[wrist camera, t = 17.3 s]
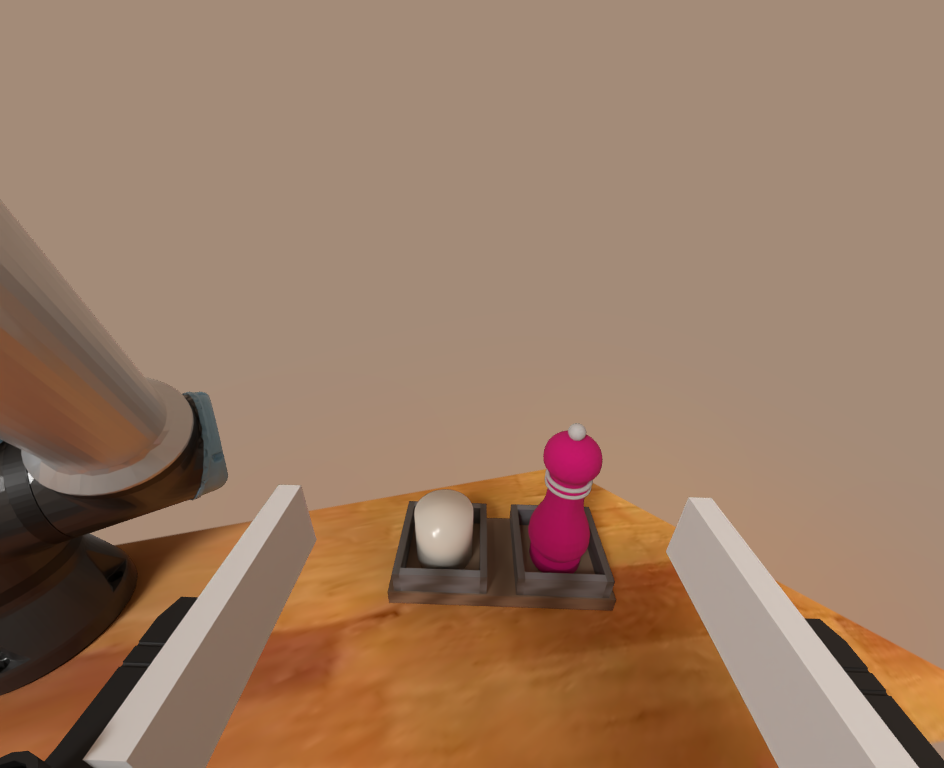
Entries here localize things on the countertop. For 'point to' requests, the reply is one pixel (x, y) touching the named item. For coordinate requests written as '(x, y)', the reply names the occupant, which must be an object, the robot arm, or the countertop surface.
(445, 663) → the countertop surface
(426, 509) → the white glossy dome
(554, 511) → the pepper mill
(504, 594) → the two-compartment tray
